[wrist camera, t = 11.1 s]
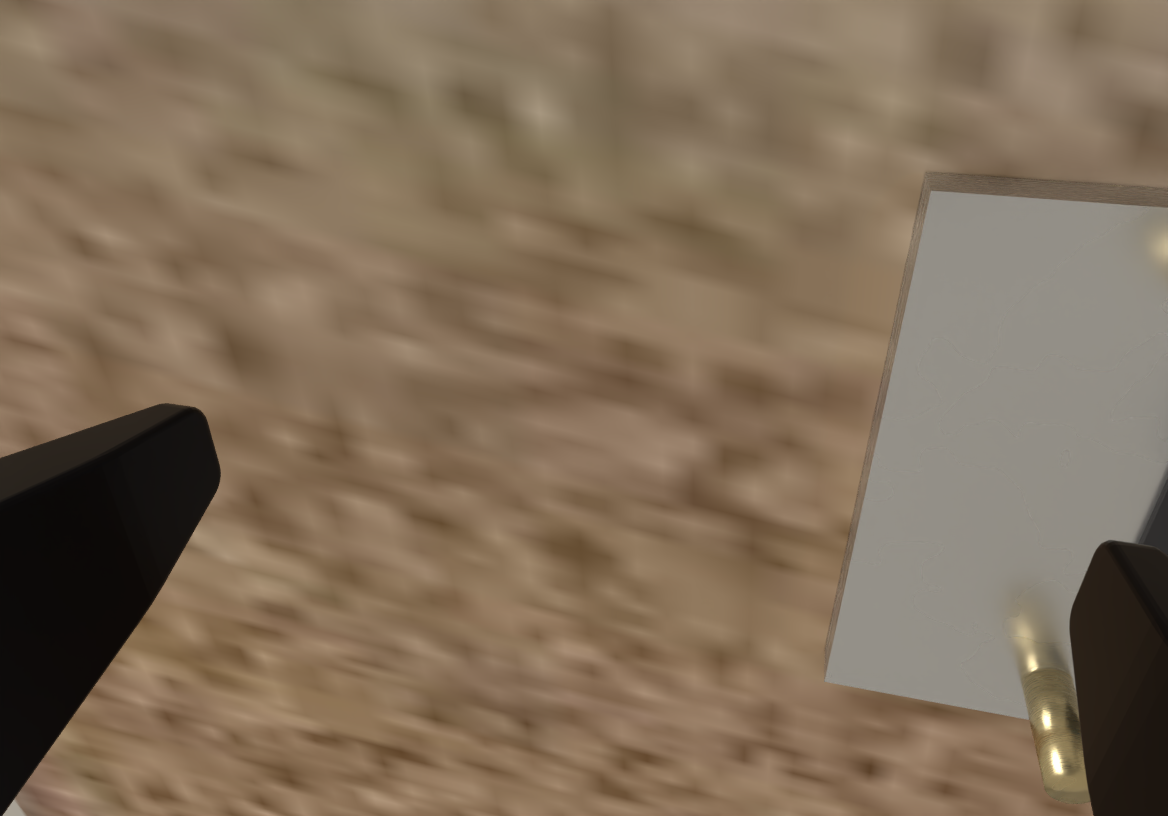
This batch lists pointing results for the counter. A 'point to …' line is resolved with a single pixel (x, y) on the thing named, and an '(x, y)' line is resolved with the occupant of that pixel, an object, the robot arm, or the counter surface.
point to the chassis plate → (1008, 449)
